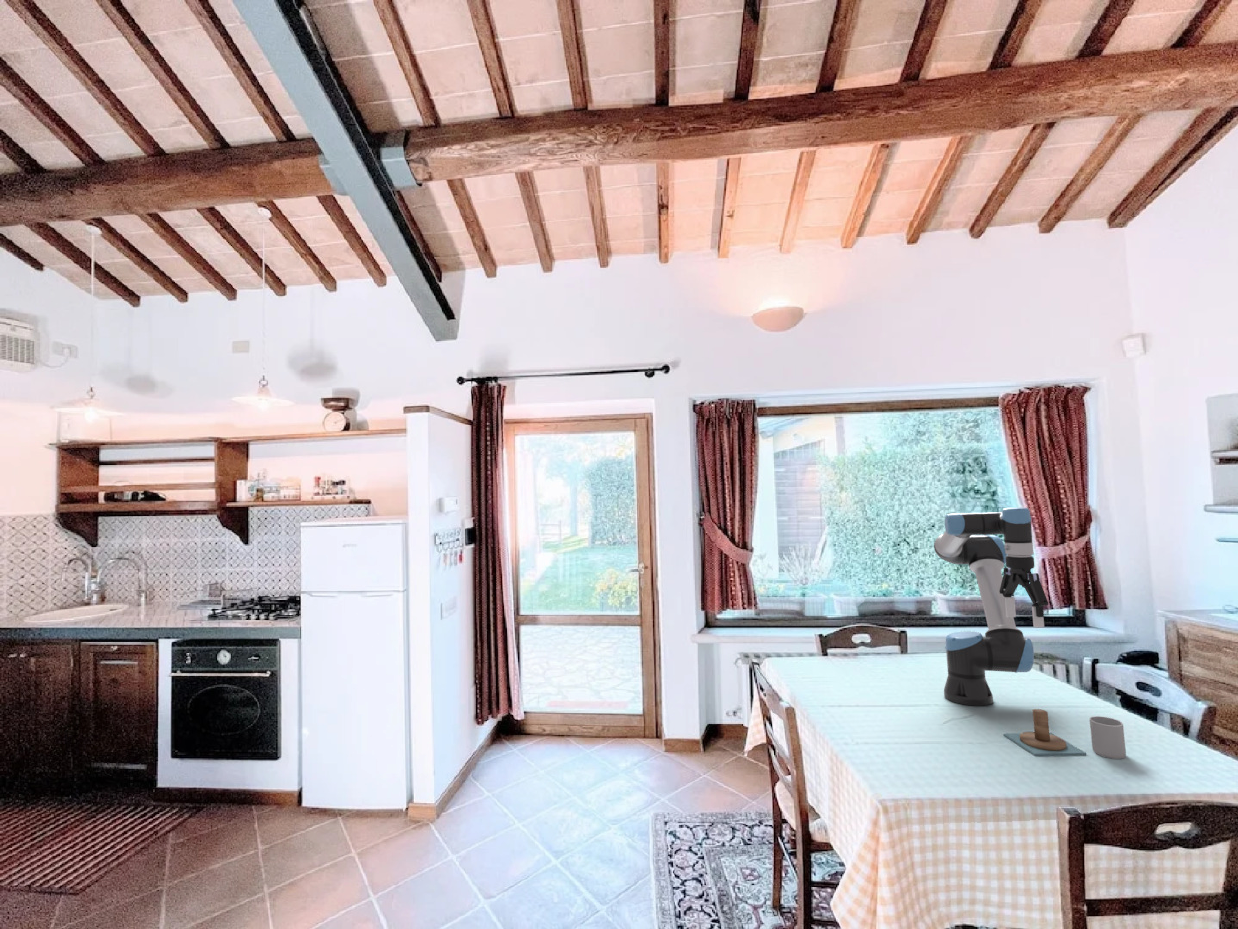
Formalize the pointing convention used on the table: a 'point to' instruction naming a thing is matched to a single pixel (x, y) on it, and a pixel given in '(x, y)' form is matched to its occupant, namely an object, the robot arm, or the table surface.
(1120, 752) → the cup
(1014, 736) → the mat
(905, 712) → the table surface
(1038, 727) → the lid
